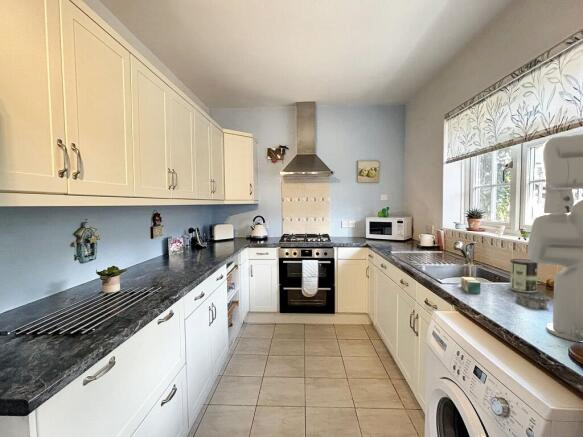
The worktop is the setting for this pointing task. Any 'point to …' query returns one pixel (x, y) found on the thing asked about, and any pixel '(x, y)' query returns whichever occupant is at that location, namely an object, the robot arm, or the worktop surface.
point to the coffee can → (523, 275)
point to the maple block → (470, 284)
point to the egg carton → (535, 302)
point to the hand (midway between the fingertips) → (556, 236)
